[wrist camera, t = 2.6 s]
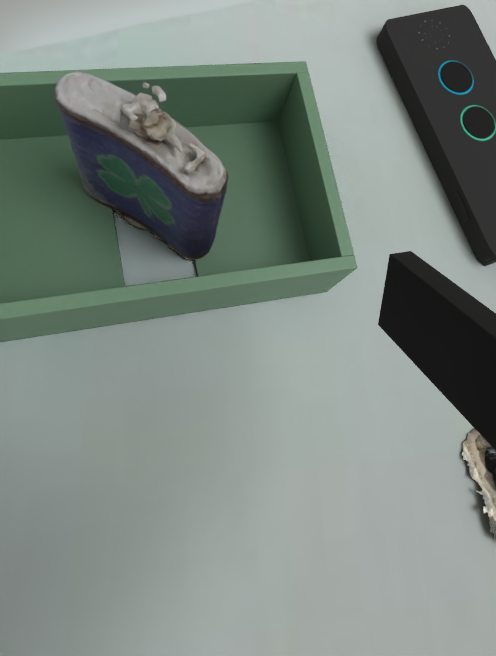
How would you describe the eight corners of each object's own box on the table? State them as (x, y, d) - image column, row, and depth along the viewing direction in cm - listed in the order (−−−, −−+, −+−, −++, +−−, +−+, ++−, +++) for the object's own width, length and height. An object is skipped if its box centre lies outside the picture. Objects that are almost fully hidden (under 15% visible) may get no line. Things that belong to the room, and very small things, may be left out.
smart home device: (470, 1, 37) (583, 227, 34) (456, 19, 38) (564, 236, 36) (381, 18, 35) (495, 260, 32) (371, 37, 36) (479, 268, 34)
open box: (-20, 345, 27) (-59, 328, 22) (-42, 133, 29) (-83, 75, 24) (327, 291, 31) (357, 267, 26) (285, 112, 34) (306, 60, 29)
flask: (75, 190, 29) (29, 62, 19) (102, 156, 30) (73, 16, 20) (198, 270, 30) (220, 187, 19) (222, 235, 30) (255, 138, 20)
